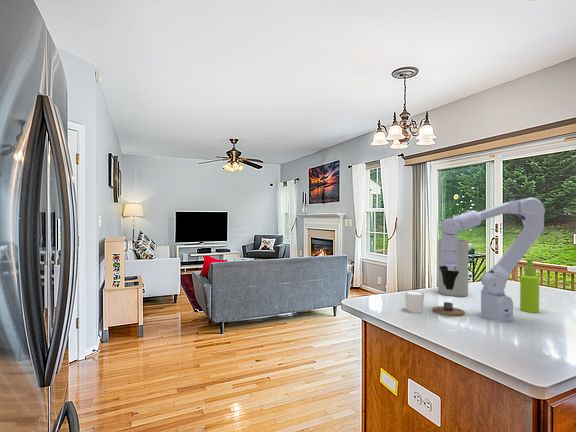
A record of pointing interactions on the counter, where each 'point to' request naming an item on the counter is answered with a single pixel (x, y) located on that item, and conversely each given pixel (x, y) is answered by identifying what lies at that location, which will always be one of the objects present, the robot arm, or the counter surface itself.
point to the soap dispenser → (529, 288)
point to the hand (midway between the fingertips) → (448, 287)
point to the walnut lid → (448, 310)
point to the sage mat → (449, 316)
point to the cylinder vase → (462, 278)
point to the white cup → (414, 301)
